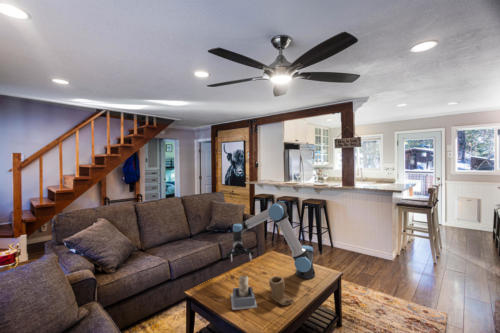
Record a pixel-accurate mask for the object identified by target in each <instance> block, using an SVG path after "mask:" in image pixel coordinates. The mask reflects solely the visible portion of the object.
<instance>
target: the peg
mask: <svg viewBox="0 0 500 333" xmlns="http://www.w3.org/2000/svg"><path fill="white" fill-rule="evenodd" d="M238 278H239V279H238V281H239V282H238V286H239V287H238V288H239V298H242V297H248V287H249V276H247V275H240V276H239V277H238Z"/></svg>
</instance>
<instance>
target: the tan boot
mask: <svg viewBox="0 0 500 333" xmlns="http://www.w3.org/2000/svg"><path fill="white" fill-rule="evenodd" d="M268 281H269V282H268V283H269V286H270V289H271V292H272V293H270V295H269V296H270V298H271V299H272V300H273V301H274V302H276V303H278V304H279V305H282V306H288V305H291V304H292V303H293V302H294V301H295V299H294V298H292V297H290V295H287V294H286V293H285V287H286V285H285V279H284V278H283V277H282V276H278V275H276V276H271V277H270V279H269V280H268Z"/></svg>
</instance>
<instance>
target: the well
mask: <svg viewBox="0 0 500 333" xmlns="http://www.w3.org/2000/svg"><path fill="white" fill-rule="evenodd" d="M254 293H255V292H254V291H253V287H252V286H248V297H242V298H239V287H233V288H232V293H231V294H230V301H231V310H232V311H234V310H235V311H236V310H247V309H256V308H258V304H257V301H256V297H255V294H254Z"/></svg>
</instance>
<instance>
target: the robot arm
mask: <svg viewBox="0 0 500 333" xmlns="http://www.w3.org/2000/svg"><path fill="white" fill-rule="evenodd" d="M287 210H288V207H287V205H286V203H285V202H284V201H282V200H279V201H275V202H274V203H273V204H271V205H270V206H269V208H267V209H265V210H263V211H261V212H259V213H257V214H256V215H254V216H252V217H250V218H247V220H245V221H242V222H240V223H234V224H233V225H232V245H233V249H232V248H231V249H229V251H228V252H227V253H226V258H228V259H230V260H231V261H230V262H233V257H234V256H235V255H236V256H237V255H241V254H242V255H246V256H248V257H249V260H250V261H252V260H253V256H255V252H254V251H253V250H252V249H250V248H248V247H246V248H244V245H243V233H245V232H246V231H248V230H249V229H251V228H253V227H255V226H257V225H260V224H261V223H263V222H266V221H267V220H270V219H271V220H272V221H273V222H274V223H275V224H276V225H278V227H279V229H280V231H281V233H282V234H283V237H284V239H285V241H286V242H287V245H288V247H289V248H290V251H291V252H292V254H291V257H292V258H293V261H294V267H295V269H296V270H295V275H296V276H297V277H298V278H300V279H303V280H311V279H314V278H315V277H316V272H315V269H314V247H313V246H310V245H304V244H303V245H302V243H301V242H300V240H299V238H298V236H297V234H296V232H295V230H294V229H293V226H292V224H291V223H290V221H289V214H288V212H287Z"/></svg>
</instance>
